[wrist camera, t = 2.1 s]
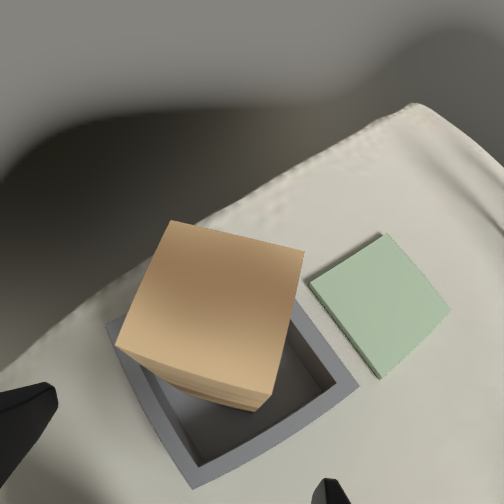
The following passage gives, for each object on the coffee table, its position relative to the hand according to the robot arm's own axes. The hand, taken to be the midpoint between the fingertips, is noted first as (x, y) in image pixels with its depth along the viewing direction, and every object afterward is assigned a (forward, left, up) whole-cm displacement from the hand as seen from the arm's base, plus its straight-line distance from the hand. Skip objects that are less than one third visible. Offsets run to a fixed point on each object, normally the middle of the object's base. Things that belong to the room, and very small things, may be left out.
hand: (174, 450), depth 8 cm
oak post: (+3, +3, -11) cm, 12 cm away
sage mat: (+16, +1, -12) cm, 20 cm away
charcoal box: (+3, +3, -12) cm, 13 cm away
